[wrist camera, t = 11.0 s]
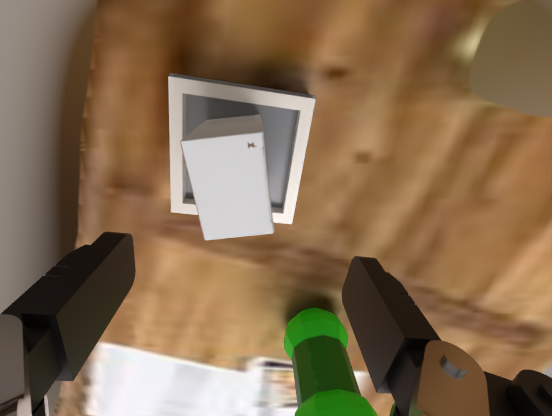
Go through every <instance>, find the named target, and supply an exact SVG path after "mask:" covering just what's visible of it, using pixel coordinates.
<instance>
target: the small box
mask: <svg viewBox="0 0 552 416" xmlns="http://www.w3.org/2000/svg"><path fill="white" fill-rule="evenodd" d="M180 144H181V148H182V152H183V156H184V160H185V164H186V168H187V172H188V176H189V180H190V184H191V188H192V192H193V196H194V200H195V204H196V208H197V212H198V216H199V221H200V225H201V229H202V233H203V237H204V240H213V239H223V238H233V237H243V236H253V235H263V234H272V233H274V224H273V216H272V207H271V198H270V189H269V180H268V171H267V161H266V151H265V142H264V133H263V125H262V119H261V115H260V114H258V115H249V116H239V117H229V118H219V119H209V120H206V121H205V122H203V123H202V124H201V125H199V126H198V127H197V128H196V129H194V130H193V131H192V132H191V133H189V134H188V135H187V136H186V137H184V138H183V139H182V140H181V141H180Z"/></svg>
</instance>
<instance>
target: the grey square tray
mask: <svg viewBox="0 0 552 416" xmlns="http://www.w3.org/2000/svg"><path fill="white" fill-rule="evenodd" d="M168 84H169V132H170V180H171V212H174V213H184V214H194V215H198V212H197V208H196V204H195V200H194V196H193V192H192V188H191V184H190V180H189V176H188V172H187V168H186V164H185V160H184V156H183V152H182V148H181V144H180V141H181V140H182V139H183V138H184V137H186V136H187V135H188V134H189V133H191V132H192V131H193V130H194V129H196V128H197V127H198V126H199V125H201V124H202V123H203V122H205V121H206V120H209V119H219V118H229V117H239V116H249V115H258V114H260V115H261V119H262V125H263V133H264V142H265V151H266V161H267V171H268V180H269V189H270V198H271V207H272V216H273V222H275V223H286V224H292V221H293V216H294V211H295V205H296V200H297V195H298V189H299V184H300V179H301V173H302V168H303V163H304V157H305V152H306V147H307V141H308V136H309V131H310V125H311V120H312V115H313V110H314V104H315V99H316V96H315V95H309V94H303V93H297V92H290V91H284V90H277V89H271V88H264V87H258V86H252V85H245V84H239V83H232V82H226V81H219V80H213V79H207V78H200V77H194V76H187V75H181V74H174V73H170V77H169V76H168Z"/></svg>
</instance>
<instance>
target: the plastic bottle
mask: <svg viewBox="0 0 552 416" xmlns="http://www.w3.org/2000/svg"><path fill="white" fill-rule="evenodd" d="M347 342H348V335H347V332H346V329H345V328H344V326H343V325H342V323H341V322H340V320H339V319H338V317H337V316H336V315H335V314H334V313H332V312H329V311H325V310H322V309H319V308H314V307H313V308H308V309H304V310H302V311H301V312H299V313H298V314H297V315H296V316H295V317H294V318H292V319H291V320H290V321H289V322H288V324H287V327H286V332H285V338H284V348H285V350H286V352H287V354H288V356H289V357H290V358H291V359H292V363H293V371H294V379H295V387H296V395H297V403H298V409H297V411H296V412H295V416H378V415H377V413H376V412H375V410H374V409H373V408H372V406H371V405H370V404H369V402H368V401H367V399H365V398H364V397H362V396H361V394H360V391H359V388H358V385H357V382H356V379H355V376H354V372H353V369H352V366H351V363H350V360H349V357H348V354H347V351H346V347H347Z"/></svg>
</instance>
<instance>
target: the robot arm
mask: <svg viewBox="0 0 552 416" xmlns="http://www.w3.org/2000/svg"><path fill="white" fill-rule="evenodd" d="M134 278H135V259H134V247H133V238H132V235H131V234H126V233H116V232H104V233H103V234H102V235H101V236H100V237H99V238H98V239H97V240H96V241H95V242H93V243H92V244H91V245H84V246H82V247H80V248H78V249H76V250H74V251H72V252H70V253H68V254H67V255H66V256H65V257H64V258H63V259H61V260H60V261H59V262H58V263H57V264H56V267H55V266H54V267H53V268H51V269H50V270H49V271H48V272H47V273H46V275H45V276H42V277H41V278H40V279H39V280H38V281H37V282H36V283H35V284H34V285H32V286H31V287H30V288H29V289H28V290H27V291H26V292H25V293H24V294H22V295H21V296H20V297H19V298H18V299H17V300H16V301H15V302H13V303H12V304H11V305H10V306H9V307H8V308H7V309H6V310H4V311H3V312H2V313H1V314H0V416H49V411H48V400H47V396H46V393H47V392H48V390H49V389H50V387H51V385H52V384H53V383H54V381H55V380H58V381H59V380H60V381H73V380H74V379H75V377H76V376H77V374H78V372H79V371H80V369H81V368H82V366H83V364H84V363H85V361H86V360H87V358H88V356H89V355H90V353H91V352H92V350H93V348H94V347H95V345H96V344H97V342H98V340H99V339H100V337H101V336H102V334H103V332H104V331H105V329H106V328H107V326H108V324H109V323H110V321H111V320H112V318H113V316H114V315H115V313H116V311H117V310H118V308H119V307H120V305H121V303H122V302H123V300H124V299H125V297H126V295H127V294H128V292H129V291H130V289H131V287H132V285H133V282H134ZM342 302H343V305H344V308H345V311H346V313H347V316H348V319H349V321H350V324H351V326H352V329H353V332H354V334H355V337H356V340H357V342H358V345H359V348H360V350H361V353H362V355H363V358H364V361H365V363H366V366H367V369H368V371H369V374H370V377H371V379H372V382H373V384H374V387H375V390H376V392H377V393H391V394H392V396H393V398H394V401H395V402H394V404H393V405H392V408H391V412H390V416H552V378H550V377H549V376H547V375H544V374H542V373H540V372H537V371H534V370H522V371H520V372H519V373H518V375H517V376H516V377H515V378H514V379H513V381H511V380H508V379H505V378H502V377H500V376H497V375H494V374H491V373H488V372H485V371H483V370H482V369H481V367H480V366H479V365H478V363H477V362H476V361H475V360H474V359H473V358H472V357H471V356H470V355H469V354H467V353H466V352H465V351H463V350H462V349H460V348H459V347H457V346H455V345H453V344H451V343H448V342H445V341H442V340H441V339H440V338H439V336H438V335H437V333H436V332H435V331H434V329H433V328H432V326H431V325H430V324H429V322H428V321H427V319H426V318H425V316H424V315H423V314H422V312H421V311H420V309H419V308H418V307H417V305H415V302H414V301H413V300H412V298H411V297H410V296H408V292H407V291H406V290H405V288H404V287H403V285H402V284H401V283H400V282H399V281H398V280H397V279H396V278H394V277H393V276H392V275H391V274H390V273H387V272H385V271H384V269H383V268H382V266H381V265H380V263H379V262H378V260H377V259H376V258H369V257H359V256H355V257H354V258H353V259H352V261H351V264H350V267H349V270H348V273H347V277H346V280H345V283H344V286H343V289H342Z"/></svg>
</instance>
